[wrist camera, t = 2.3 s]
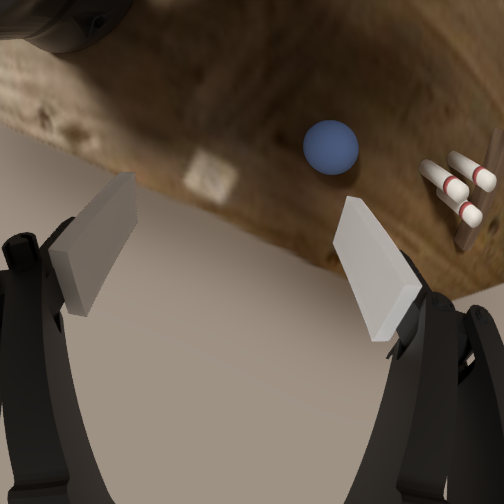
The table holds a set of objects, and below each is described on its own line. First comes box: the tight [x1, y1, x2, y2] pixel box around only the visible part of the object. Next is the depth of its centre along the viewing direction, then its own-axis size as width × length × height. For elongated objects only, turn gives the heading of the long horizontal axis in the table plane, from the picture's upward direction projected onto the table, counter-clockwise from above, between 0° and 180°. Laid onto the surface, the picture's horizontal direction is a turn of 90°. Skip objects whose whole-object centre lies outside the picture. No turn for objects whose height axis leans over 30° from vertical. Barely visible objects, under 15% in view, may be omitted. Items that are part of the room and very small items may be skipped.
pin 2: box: [436, 187, 482, 228], centre depth 32 cm, size 2×2×8 cm
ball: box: [303, 120, 359, 175], centre depth 29 cm, size 6×6×6 cm
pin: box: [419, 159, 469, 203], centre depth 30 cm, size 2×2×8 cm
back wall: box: [453, 127, 504, 252], centre depth 33 cm, size 2×20×3 cm, turn 172°
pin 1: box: [447, 151, 497, 192], centre depth 29 cm, size 2×2×8 cm
